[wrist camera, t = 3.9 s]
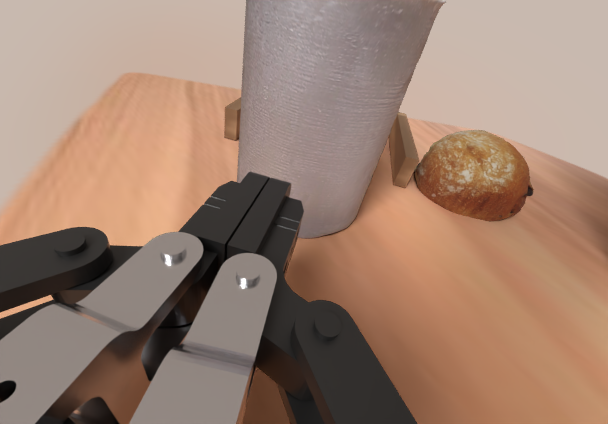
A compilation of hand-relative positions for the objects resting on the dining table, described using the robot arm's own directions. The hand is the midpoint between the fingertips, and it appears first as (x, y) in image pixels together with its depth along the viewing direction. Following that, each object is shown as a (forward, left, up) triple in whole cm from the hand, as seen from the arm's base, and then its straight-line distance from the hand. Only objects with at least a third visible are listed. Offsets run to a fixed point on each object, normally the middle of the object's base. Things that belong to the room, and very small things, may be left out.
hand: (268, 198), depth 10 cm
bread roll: (-15, -19, -7) cm, 25 cm away
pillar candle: (0, -10, -7) cm, 12 cm away
